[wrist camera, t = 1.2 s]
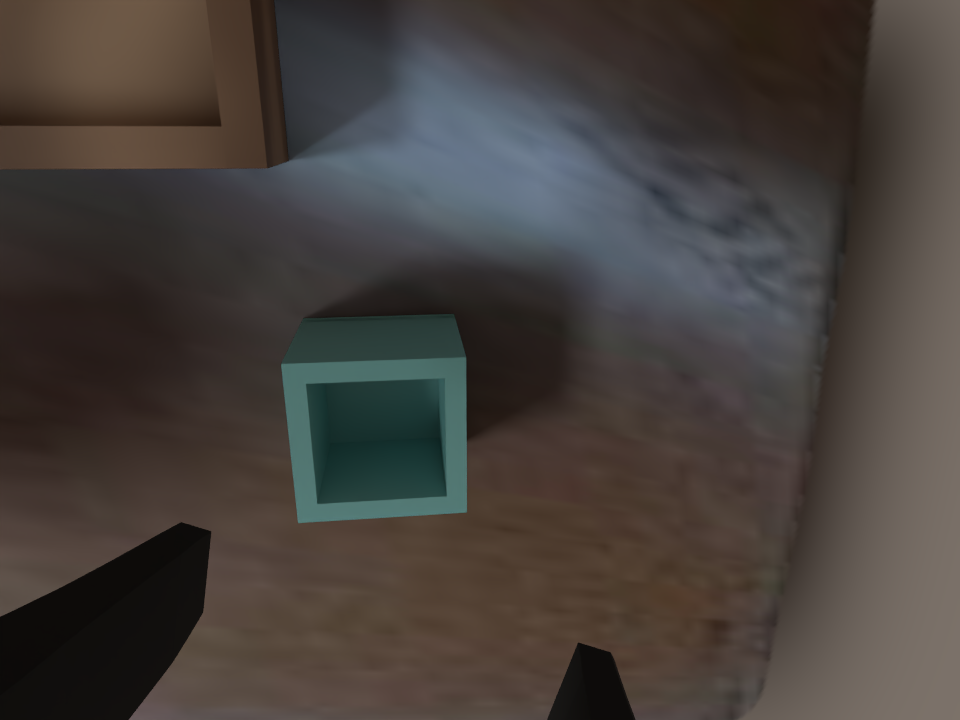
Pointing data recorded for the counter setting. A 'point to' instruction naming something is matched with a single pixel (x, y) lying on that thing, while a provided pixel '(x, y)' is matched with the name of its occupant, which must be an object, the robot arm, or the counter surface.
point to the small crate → (377, 417)
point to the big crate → (140, 85)
